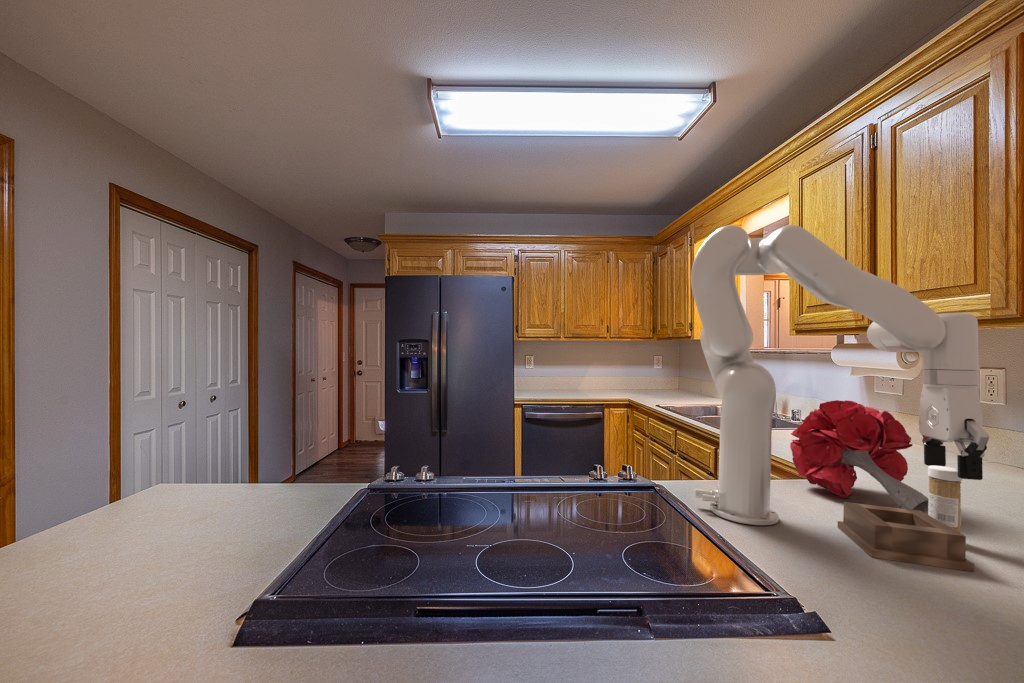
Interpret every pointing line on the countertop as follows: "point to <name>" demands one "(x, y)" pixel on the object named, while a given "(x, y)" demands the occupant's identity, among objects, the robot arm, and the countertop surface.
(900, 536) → the socket block
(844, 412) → the bouquet
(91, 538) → the countertop surface
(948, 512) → the sprinkles bottle
